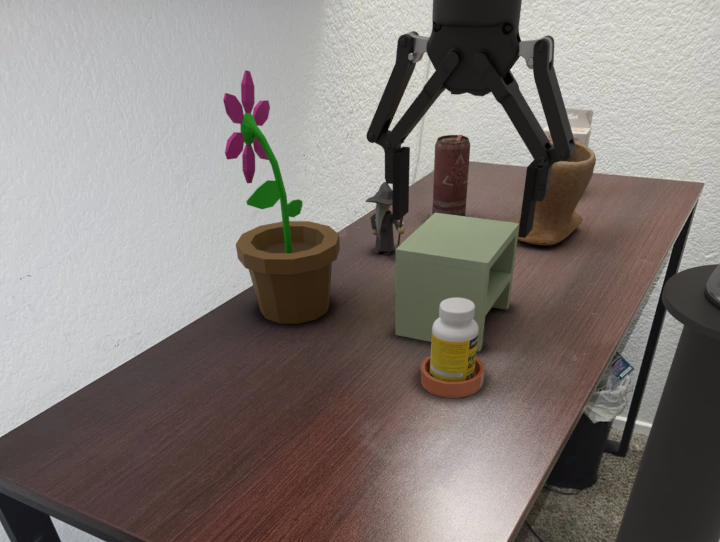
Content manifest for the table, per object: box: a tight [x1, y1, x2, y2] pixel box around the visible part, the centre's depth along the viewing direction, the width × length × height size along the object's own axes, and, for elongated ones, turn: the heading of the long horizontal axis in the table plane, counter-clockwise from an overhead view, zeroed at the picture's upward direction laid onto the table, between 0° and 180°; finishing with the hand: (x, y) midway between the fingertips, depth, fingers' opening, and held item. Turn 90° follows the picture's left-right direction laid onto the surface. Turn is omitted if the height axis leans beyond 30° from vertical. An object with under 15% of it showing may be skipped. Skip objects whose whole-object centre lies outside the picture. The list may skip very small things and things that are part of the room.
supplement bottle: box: [430, 298, 479, 382], centre depth 78 cm, size 5×5×10 cm
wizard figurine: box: [365, 181, 406, 256], centre depth 108 cm, size 8×6×12 cm
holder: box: [420, 354, 485, 399], centre depth 80 cm, size 8×8×2 cm
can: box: [431, 134, 471, 217], centre depth 118 cm, size 6×6×14 cm
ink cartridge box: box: [543, 107, 594, 147], centre depth 127 cm, size 9×5×15 cm, turn 66°
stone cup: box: [513, 141, 597, 246], centre depth 110 cm, size 15×12×15 cm
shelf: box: [394, 213, 519, 352], centre depth 89 cm, size 12×14×12 cm
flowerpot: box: [222, 70, 341, 325], centre depth 88 cm, size 14×14×30 cm
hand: (460, 224), depth 68 cm, fingers open, 13 cm apart
